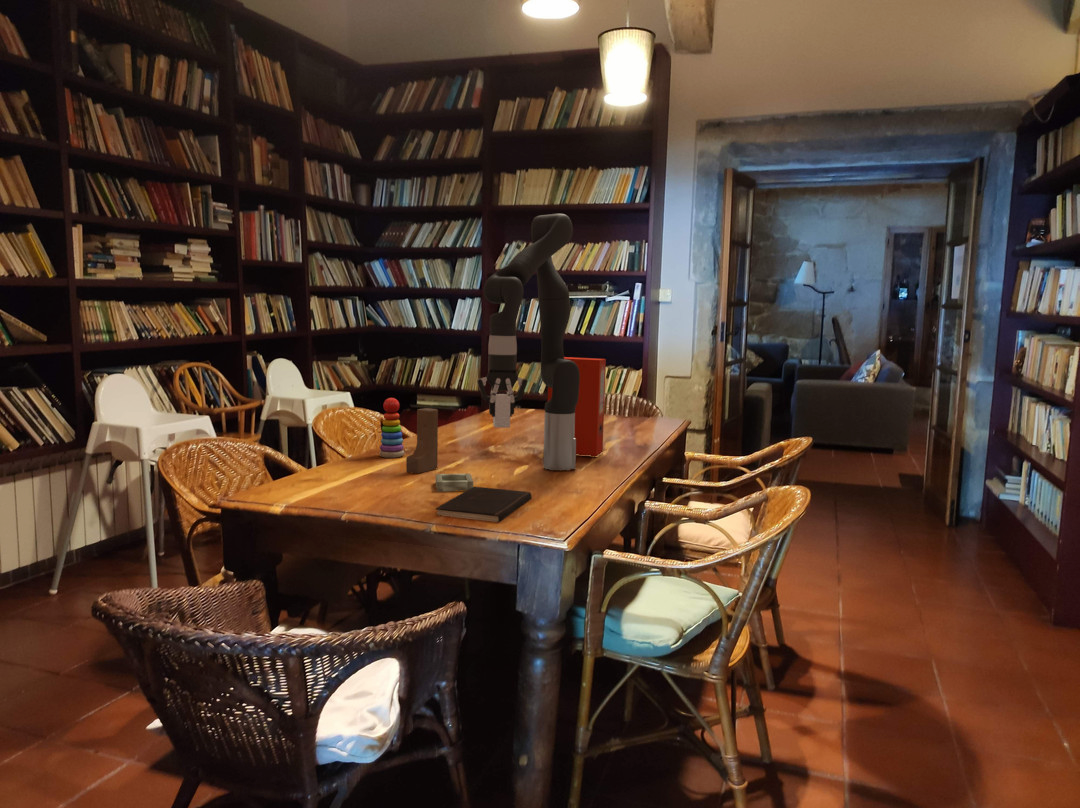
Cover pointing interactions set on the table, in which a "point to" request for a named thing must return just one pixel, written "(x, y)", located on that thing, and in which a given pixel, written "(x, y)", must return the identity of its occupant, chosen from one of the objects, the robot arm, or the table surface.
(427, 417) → the wooden block
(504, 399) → the gray rectangular block
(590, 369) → the file binder
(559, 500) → the table surface
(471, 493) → the hardcover book
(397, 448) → the stacking toy
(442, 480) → the grey shallow square tray
